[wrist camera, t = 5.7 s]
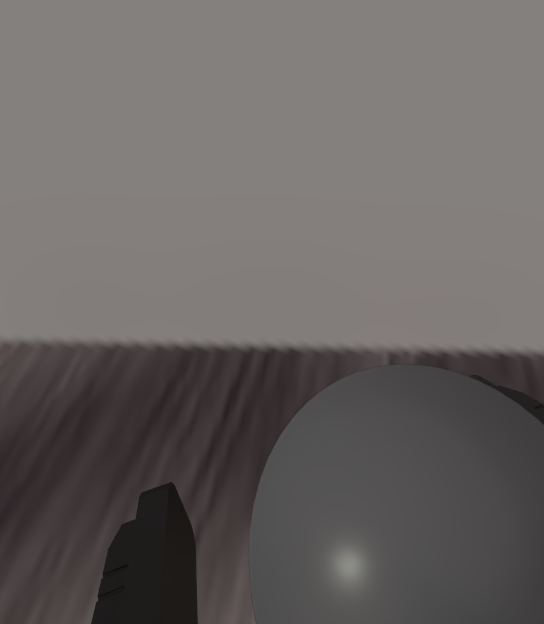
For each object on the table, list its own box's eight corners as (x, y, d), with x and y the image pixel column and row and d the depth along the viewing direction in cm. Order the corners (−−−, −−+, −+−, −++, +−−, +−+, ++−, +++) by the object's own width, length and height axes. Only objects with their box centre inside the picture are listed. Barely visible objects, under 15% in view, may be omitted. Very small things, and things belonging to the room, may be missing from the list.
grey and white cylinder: (239, 526, 12) (171, 667, 3) (289, 416, 14) (333, 316, 5) (350, 592, 12) (649, 1012, 3) (388, 467, 13) (647, 455, 4)
